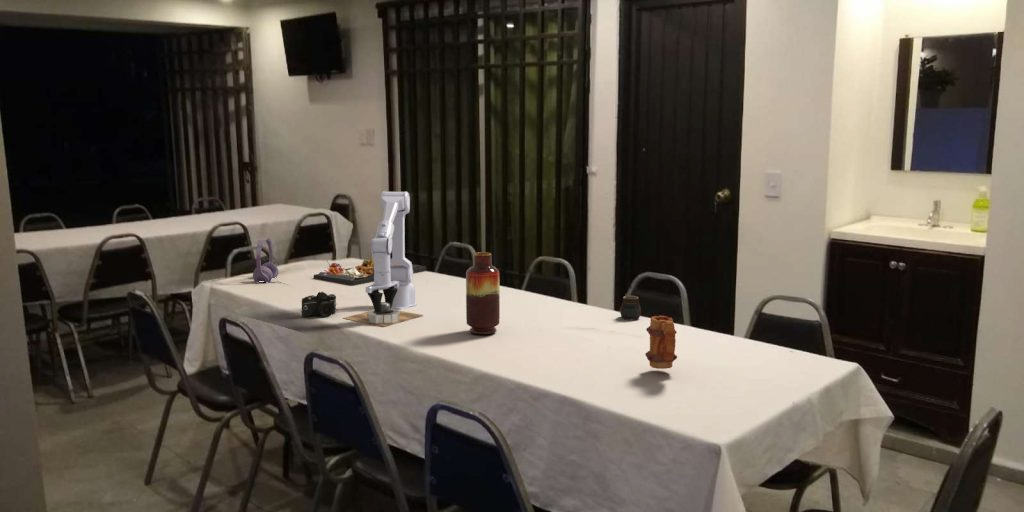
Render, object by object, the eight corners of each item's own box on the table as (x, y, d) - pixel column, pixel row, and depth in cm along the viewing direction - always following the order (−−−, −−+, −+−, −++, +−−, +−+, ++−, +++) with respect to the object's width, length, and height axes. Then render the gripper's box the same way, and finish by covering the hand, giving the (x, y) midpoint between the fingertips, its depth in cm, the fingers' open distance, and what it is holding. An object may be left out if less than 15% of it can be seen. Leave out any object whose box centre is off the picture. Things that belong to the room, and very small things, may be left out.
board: (382, 308, 307) (382, 307, 307) (423, 316, 295) (423, 314, 295) (342, 319, 291) (342, 318, 291) (383, 326, 279) (383, 325, 279)
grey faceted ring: (383, 315, 295) (382, 306, 295) (405, 319, 289) (405, 310, 288) (360, 320, 286) (360, 312, 286) (383, 325, 280) (383, 316, 280)
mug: (642, 362, 237) (643, 311, 234) (670, 362, 237) (671, 311, 235) (655, 378, 222) (656, 323, 220) (684, 377, 223) (686, 323, 221)
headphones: (269, 287, 349) (266, 240, 346) (249, 287, 349) (247, 240, 346) (281, 279, 367) (279, 234, 364) (263, 279, 367) (261, 234, 364)
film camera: (303, 322, 287) (312, 297, 285) (295, 312, 293) (303, 287, 291) (337, 325, 296) (346, 300, 294) (329, 315, 302) (337, 291, 299)
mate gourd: (643, 318, 292) (644, 290, 290) (637, 322, 285) (638, 294, 284) (623, 316, 295) (624, 288, 294) (617, 320, 288) (617, 292, 287)
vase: (504, 328, 277) (504, 251, 273) (492, 336, 267) (492, 256, 263) (473, 326, 281) (473, 250, 277) (461, 333, 270) (460, 255, 266)
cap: (383, 311, 291) (382, 301, 290) (393, 312, 288) (393, 302, 287) (372, 313, 287) (372, 303, 286) (383, 315, 284) (383, 305, 283)
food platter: (353, 291, 342) (352, 267, 341) (313, 284, 356) (313, 261, 355) (426, 275, 378) (425, 253, 376) (387, 270, 392) (387, 249, 391)
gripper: (388, 267, 293) (389, 304, 295) (358, 273, 281) (359, 312, 284) (403, 269, 289) (403, 307, 291) (373, 275, 277) (374, 314, 279)
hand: (383, 310), depth 287 cm, fingers closed on cap, 5 cm apart
